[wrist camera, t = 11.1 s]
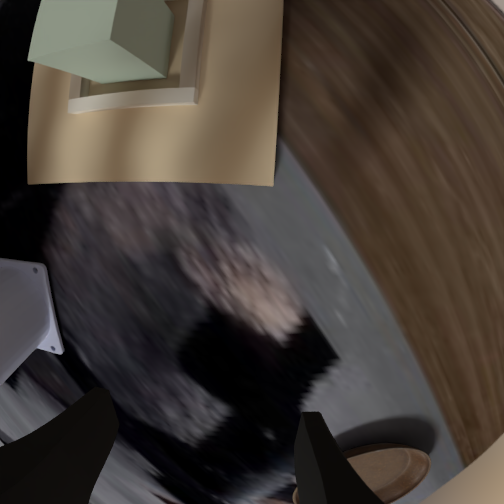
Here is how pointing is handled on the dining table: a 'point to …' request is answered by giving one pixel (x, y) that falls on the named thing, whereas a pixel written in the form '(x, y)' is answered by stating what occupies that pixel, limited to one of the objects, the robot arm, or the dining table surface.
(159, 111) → the display plinth
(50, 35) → the sage block
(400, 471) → the saucer
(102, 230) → the dining table surface
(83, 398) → the robot arm
